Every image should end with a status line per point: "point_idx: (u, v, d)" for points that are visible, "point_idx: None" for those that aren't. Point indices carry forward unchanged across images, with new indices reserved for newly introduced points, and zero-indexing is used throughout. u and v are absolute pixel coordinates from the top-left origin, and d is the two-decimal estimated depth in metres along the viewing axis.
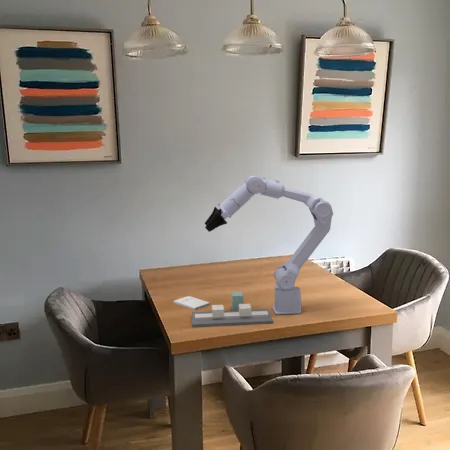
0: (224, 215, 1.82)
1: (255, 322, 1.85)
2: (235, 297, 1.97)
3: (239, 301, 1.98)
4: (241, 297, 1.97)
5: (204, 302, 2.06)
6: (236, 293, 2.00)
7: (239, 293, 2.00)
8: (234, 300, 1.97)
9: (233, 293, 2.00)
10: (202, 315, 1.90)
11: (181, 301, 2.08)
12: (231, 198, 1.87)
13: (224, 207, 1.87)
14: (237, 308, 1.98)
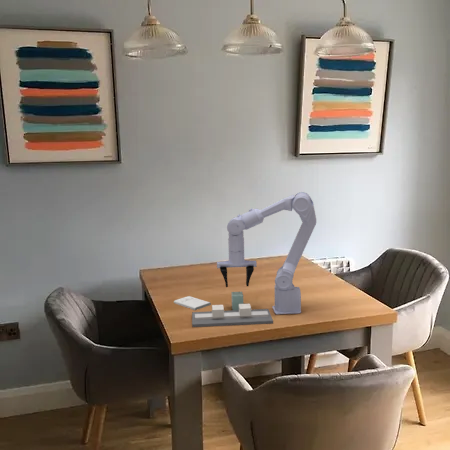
0: (217, 265, 1.97)
1: (255, 322, 1.85)
2: (235, 297, 1.97)
3: (239, 301, 1.98)
4: (241, 297, 1.97)
5: (204, 302, 2.06)
6: (236, 293, 2.00)
7: (239, 293, 2.00)
8: (234, 300, 1.97)
9: (233, 293, 2.00)
10: (202, 315, 1.90)
11: (181, 301, 2.08)
12: None
13: None
14: (237, 308, 1.98)
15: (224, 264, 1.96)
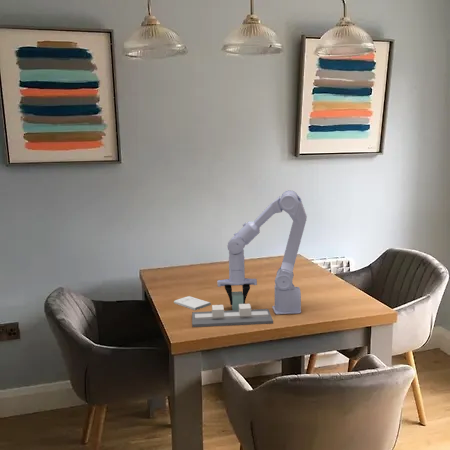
0: (217, 283, 1.99)
1: (255, 322, 1.85)
2: (235, 297, 1.97)
3: (239, 301, 1.98)
4: (241, 297, 1.97)
5: (204, 302, 2.06)
6: (236, 293, 2.00)
7: (239, 293, 2.00)
8: (234, 300, 1.97)
9: (233, 293, 2.00)
10: (202, 315, 1.90)
11: (181, 301, 2.08)
12: None
13: None
14: (237, 308, 1.98)
15: (224, 282, 1.97)
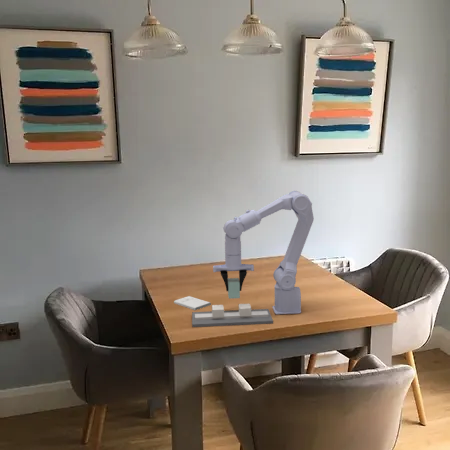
0: (213, 269, 1.92)
1: (255, 322, 1.85)
2: (231, 283, 1.91)
3: (235, 287, 1.91)
4: (237, 283, 1.91)
5: (204, 302, 2.06)
6: (232, 279, 1.94)
7: (235, 279, 1.94)
8: (230, 286, 1.91)
9: (229, 279, 1.94)
10: (202, 315, 1.90)
11: (181, 301, 2.08)
12: None
13: None
14: (233, 295, 1.92)
15: (220, 268, 1.90)
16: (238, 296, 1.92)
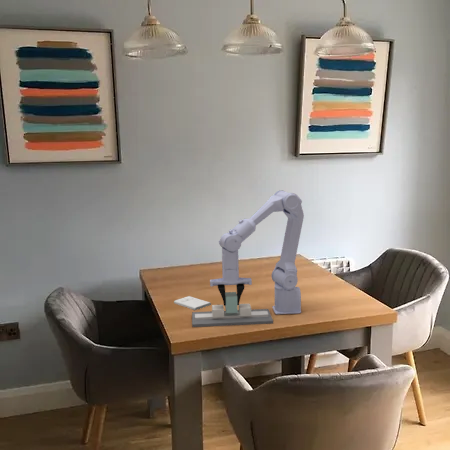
0: (210, 283, 1.88)
1: (255, 322, 1.85)
2: (228, 298, 1.87)
3: (233, 302, 1.87)
4: (235, 298, 1.87)
5: (204, 302, 2.06)
6: (230, 293, 1.90)
7: (233, 293, 1.90)
8: (227, 301, 1.87)
9: (227, 293, 1.90)
10: (202, 315, 1.90)
11: (181, 301, 2.08)
12: None
13: None
14: (231, 309, 1.88)
15: (217, 282, 1.86)
16: (236, 310, 1.88)
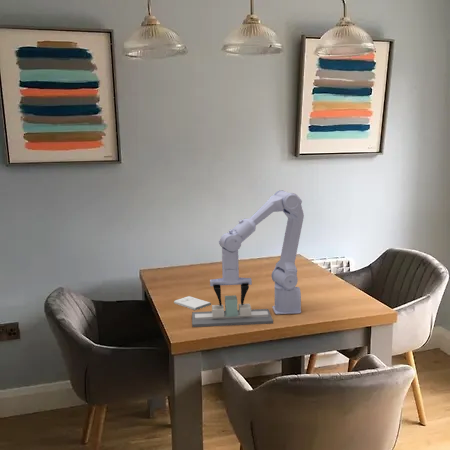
0: (210, 283, 1.88)
1: (255, 322, 1.85)
2: (228, 301, 1.87)
3: (233, 305, 1.88)
4: (235, 301, 1.87)
5: (204, 302, 2.06)
6: (230, 297, 1.90)
7: (233, 297, 1.90)
8: (228, 304, 1.87)
9: (227, 297, 1.90)
10: (202, 315, 1.90)
11: (181, 301, 2.08)
12: None
13: None
14: (231, 313, 1.88)
15: (217, 282, 1.86)
16: (236, 314, 1.88)
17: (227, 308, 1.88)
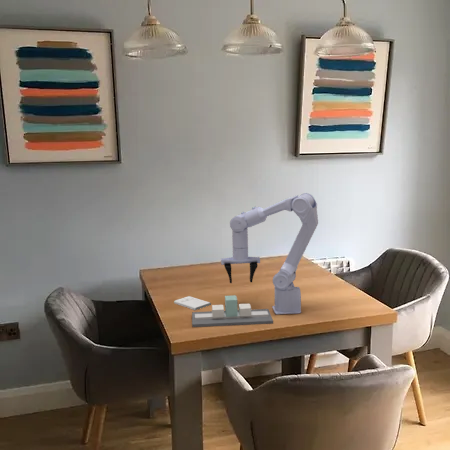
0: (221, 262, 2.00)
1: (255, 322, 1.85)
2: (228, 301, 1.87)
3: (233, 305, 1.88)
4: (235, 301, 1.87)
5: (204, 302, 2.06)
6: (230, 297, 1.90)
7: (233, 297, 1.90)
8: (228, 304, 1.87)
9: (227, 297, 1.90)
10: (202, 315, 1.90)
11: (181, 301, 2.08)
12: None
13: None
14: (231, 313, 1.88)
15: (228, 260, 1.99)
16: (236, 314, 1.88)
17: (227, 308, 1.88)
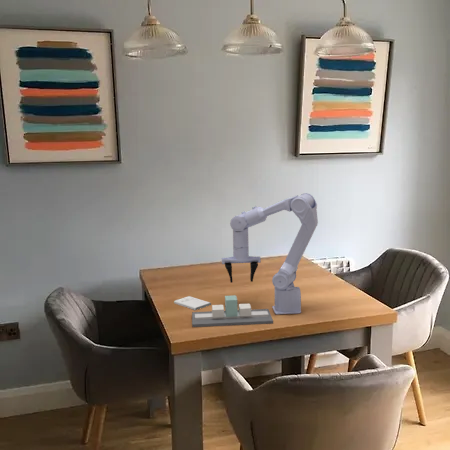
0: None
1: (255, 322, 1.85)
2: (228, 301, 1.87)
3: (233, 305, 1.88)
4: (235, 301, 1.87)
5: (204, 302, 2.06)
6: (230, 297, 1.90)
7: (233, 297, 1.90)
8: (228, 304, 1.87)
9: (227, 297, 1.90)
10: (202, 315, 1.90)
11: (181, 301, 2.08)
12: None
13: None
14: (231, 313, 1.88)
15: (229, 260, 2.00)
16: (236, 314, 1.88)
17: (227, 308, 1.88)
